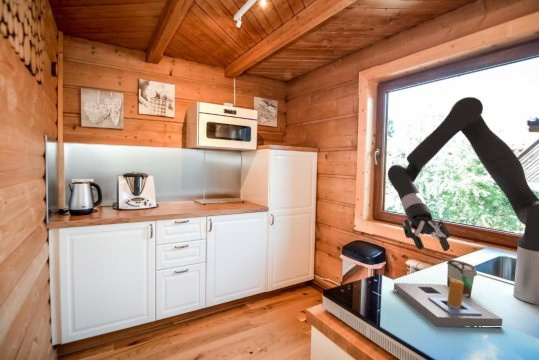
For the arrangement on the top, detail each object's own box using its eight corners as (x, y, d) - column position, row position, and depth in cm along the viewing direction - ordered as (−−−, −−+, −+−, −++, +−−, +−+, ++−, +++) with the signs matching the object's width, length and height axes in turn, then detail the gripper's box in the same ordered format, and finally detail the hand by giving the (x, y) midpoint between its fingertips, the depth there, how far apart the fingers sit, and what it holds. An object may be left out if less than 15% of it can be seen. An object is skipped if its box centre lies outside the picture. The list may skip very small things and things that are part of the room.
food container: (483, 303, 88) (485, 272, 87) (461, 300, 89) (464, 269, 89) (463, 287, 100) (466, 260, 100) (445, 285, 101) (447, 258, 101)
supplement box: (461, 319, 76) (464, 284, 76) (446, 315, 78) (449, 280, 78) (460, 314, 79) (463, 280, 79) (446, 310, 81) (448, 277, 81)
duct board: (444, 291, 95) (444, 283, 95) (501, 328, 73) (502, 317, 73) (393, 290, 94) (394, 281, 94) (436, 326, 72) (437, 315, 72)
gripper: (401, 201, 96) (418, 242, 85) (440, 203, 97) (462, 244, 86) (392, 213, 101) (407, 254, 90) (429, 215, 102) (448, 255, 91)
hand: (434, 249), depth 88 cm, fingers open, 8 cm apart
